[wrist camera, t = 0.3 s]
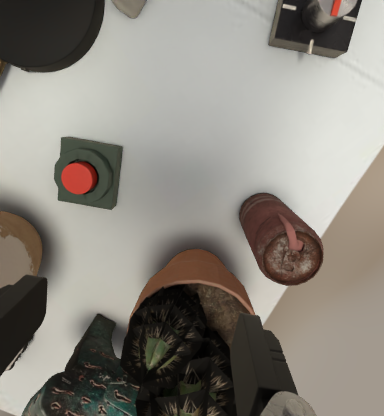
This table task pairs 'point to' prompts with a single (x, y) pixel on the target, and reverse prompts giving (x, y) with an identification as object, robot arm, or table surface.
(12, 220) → the vase
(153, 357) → the potted plant
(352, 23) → the panel
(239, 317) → the robot arm
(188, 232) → the table surface
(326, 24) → the knob
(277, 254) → the can
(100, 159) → the box
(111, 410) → the ceramic cat
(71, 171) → the button
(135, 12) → the power adapter
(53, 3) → the lamp
